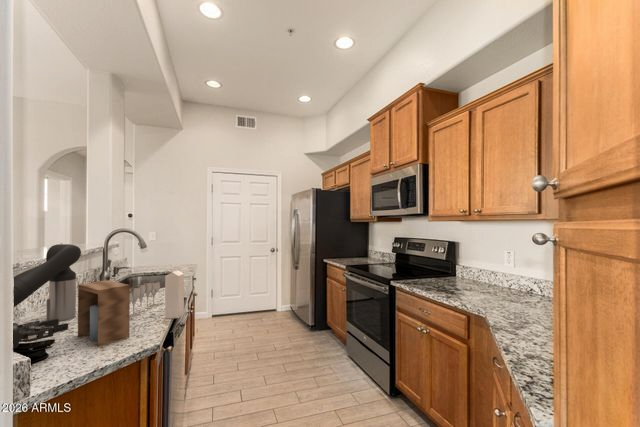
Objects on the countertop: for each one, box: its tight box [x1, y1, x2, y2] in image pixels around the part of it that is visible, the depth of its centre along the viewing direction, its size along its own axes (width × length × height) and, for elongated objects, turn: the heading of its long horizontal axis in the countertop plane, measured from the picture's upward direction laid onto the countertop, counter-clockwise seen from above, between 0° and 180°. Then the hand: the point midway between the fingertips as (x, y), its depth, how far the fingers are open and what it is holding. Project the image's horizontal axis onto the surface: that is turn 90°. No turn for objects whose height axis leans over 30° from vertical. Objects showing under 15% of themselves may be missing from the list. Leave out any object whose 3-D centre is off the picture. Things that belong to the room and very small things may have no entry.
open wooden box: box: [77, 279, 131, 348], centre depth 114 cm, size 10×18×20 cm, turn 57°
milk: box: [164, 266, 185, 319], centre depth 138 cm, size 6×6×22 cm
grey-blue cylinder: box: [89, 304, 98, 342], centre depth 113 cm, size 6×6×12 cm
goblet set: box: [129, 280, 161, 322], centre depth 145 cm, size 28×6×13 cm, turn 1°
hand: (63, 323), depth 104 cm, fingers open, 8 cm apart
